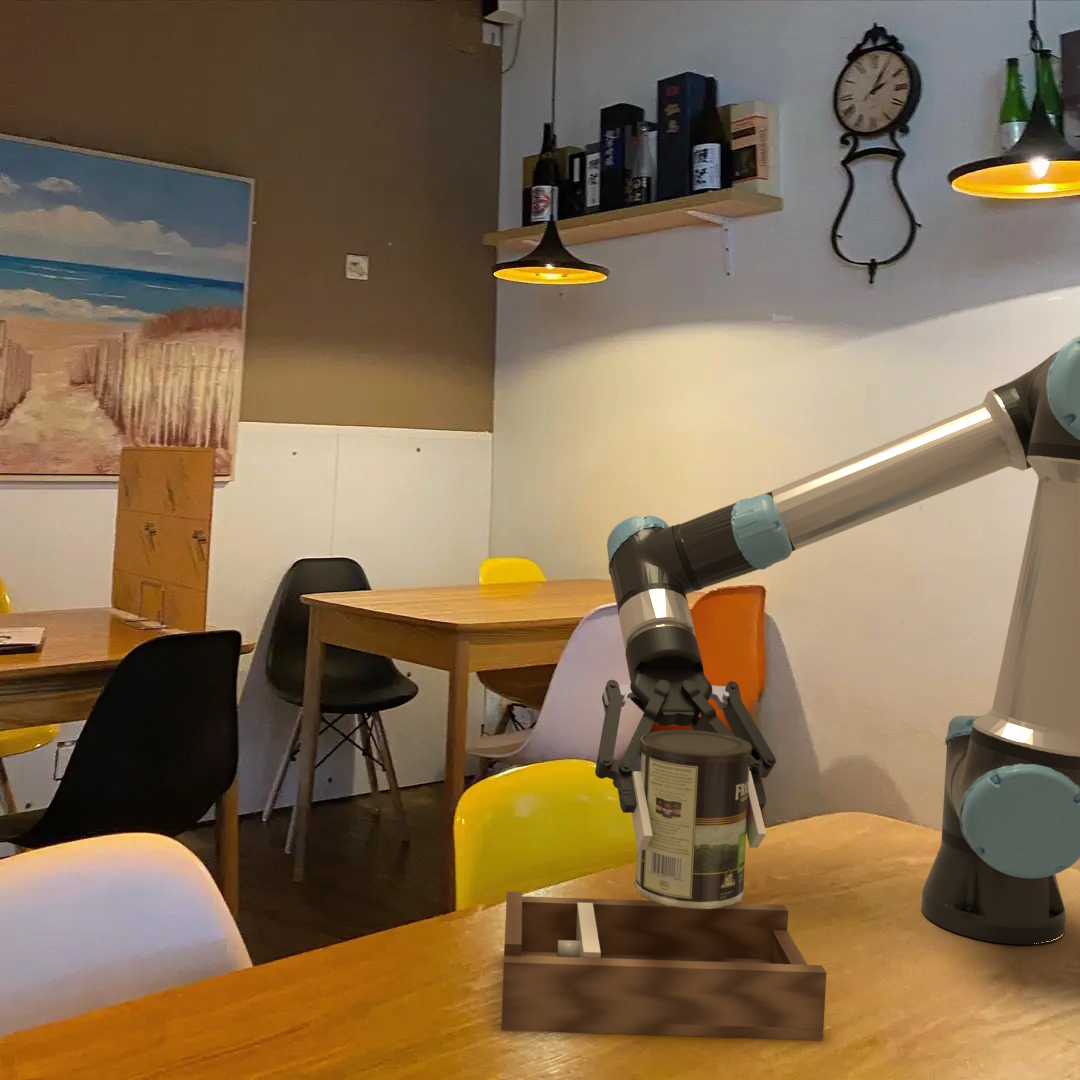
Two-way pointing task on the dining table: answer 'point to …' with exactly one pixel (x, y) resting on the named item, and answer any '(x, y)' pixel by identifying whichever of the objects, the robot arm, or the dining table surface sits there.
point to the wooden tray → (659, 971)
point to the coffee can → (694, 818)
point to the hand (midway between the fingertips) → (702, 841)
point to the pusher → (582, 936)
